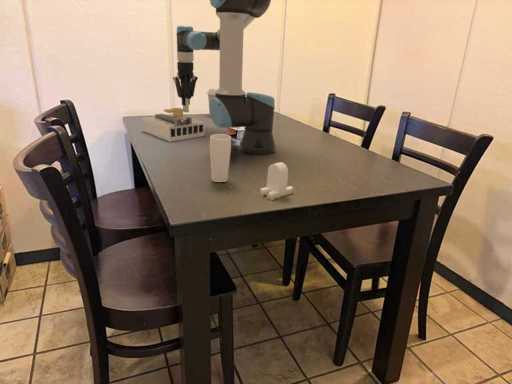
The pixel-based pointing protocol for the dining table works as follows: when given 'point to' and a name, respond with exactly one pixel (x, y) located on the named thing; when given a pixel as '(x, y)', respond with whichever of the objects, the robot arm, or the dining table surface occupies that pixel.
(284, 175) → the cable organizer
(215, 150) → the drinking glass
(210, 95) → the coffee cup
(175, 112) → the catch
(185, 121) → the strap
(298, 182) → the dining table surface
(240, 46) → the robot arm
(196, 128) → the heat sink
